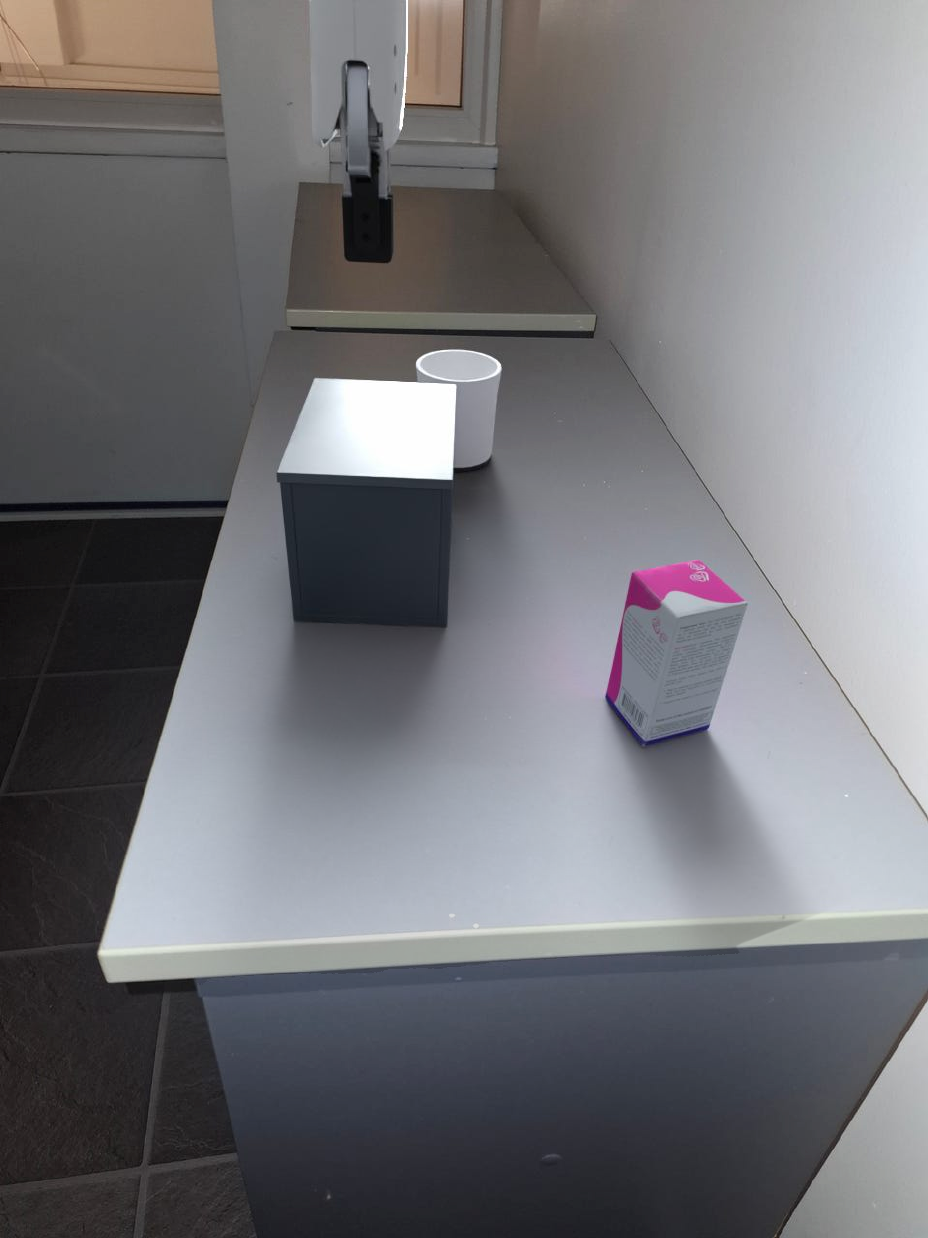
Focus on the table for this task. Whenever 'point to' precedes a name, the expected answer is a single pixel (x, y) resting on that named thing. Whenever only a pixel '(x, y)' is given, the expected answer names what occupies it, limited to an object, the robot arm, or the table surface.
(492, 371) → the mug
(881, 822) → the table surface
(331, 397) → the bin lid
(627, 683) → the supplement box
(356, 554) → the trash bin
